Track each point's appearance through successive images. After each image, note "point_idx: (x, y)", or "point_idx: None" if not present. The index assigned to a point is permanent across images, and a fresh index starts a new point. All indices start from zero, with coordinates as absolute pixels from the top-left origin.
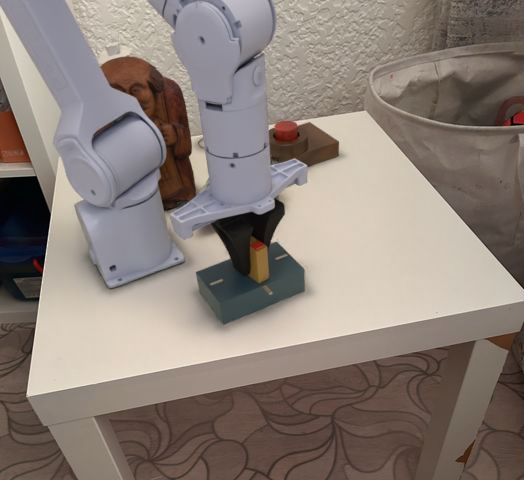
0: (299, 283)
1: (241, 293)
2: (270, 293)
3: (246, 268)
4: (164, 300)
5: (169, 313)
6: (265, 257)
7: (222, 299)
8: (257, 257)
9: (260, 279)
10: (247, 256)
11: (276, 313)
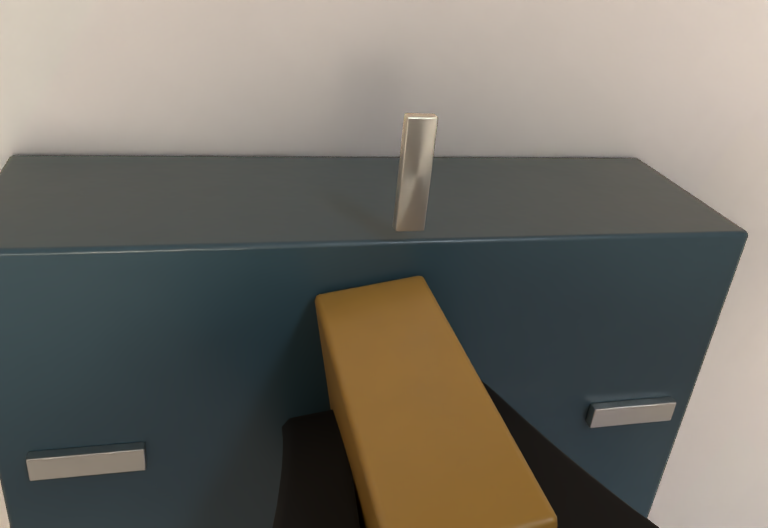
0: (45, 190)
1: (584, 245)
2: (427, 115)
3: (510, 420)
4: (706, 445)
5: (749, 363)
6: (397, 445)
7: (710, 257)
8: (518, 461)
9: (416, 294)
10: (566, 512)
11: (324, 61)
